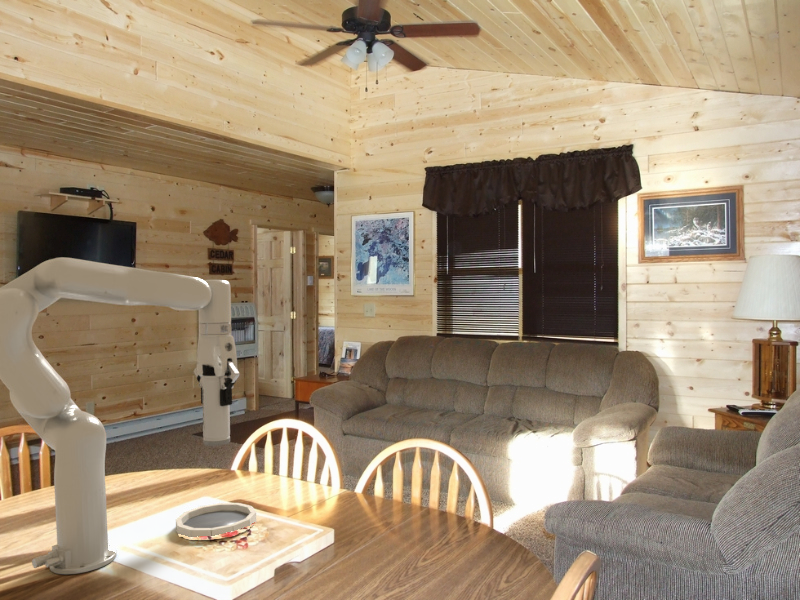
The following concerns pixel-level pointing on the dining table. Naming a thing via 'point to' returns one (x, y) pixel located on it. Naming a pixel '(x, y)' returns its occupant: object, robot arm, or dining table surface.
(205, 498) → the dining table surface
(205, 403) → the travel mug
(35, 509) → the dining table surface
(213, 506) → the round tray
